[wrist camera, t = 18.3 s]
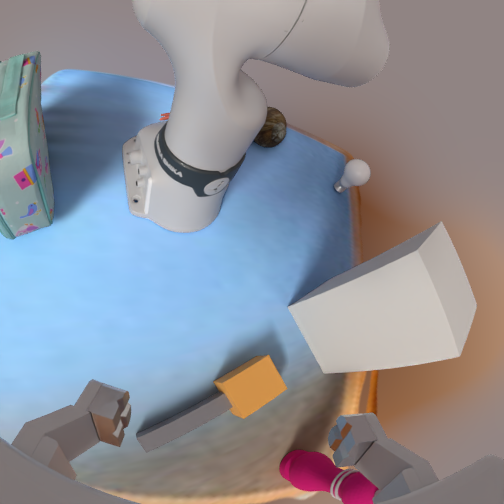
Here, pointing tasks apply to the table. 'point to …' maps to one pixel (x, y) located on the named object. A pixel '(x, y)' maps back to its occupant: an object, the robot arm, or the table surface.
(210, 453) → the table surface
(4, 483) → the robot arm
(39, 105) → the lunch box
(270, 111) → the seashell
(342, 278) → the cabinet
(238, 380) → the handle
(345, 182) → the lightbulb
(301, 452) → the pepper mill
